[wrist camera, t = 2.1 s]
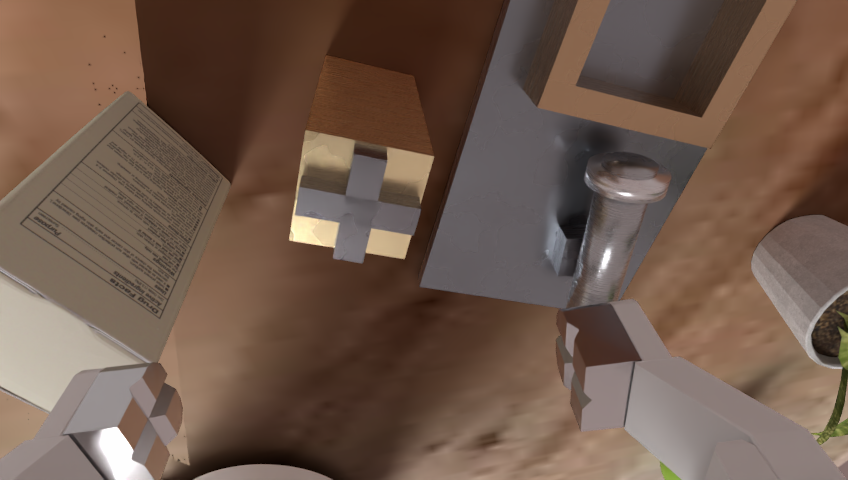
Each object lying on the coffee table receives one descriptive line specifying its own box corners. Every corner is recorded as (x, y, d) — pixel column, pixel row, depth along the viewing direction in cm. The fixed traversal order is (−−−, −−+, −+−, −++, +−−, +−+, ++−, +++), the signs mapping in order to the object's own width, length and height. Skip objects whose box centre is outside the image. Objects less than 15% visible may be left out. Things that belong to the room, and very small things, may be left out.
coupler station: (604, 305, 33) (627, 345, 30) (418, 276, 30) (423, 316, 27) (1041, -475, 16) (1186, -555, 14) (715, -677, 14) (807, -831, 11)
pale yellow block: (394, 155, 26) (405, 272, 18) (312, 138, 25) (285, 253, 17) (413, 75, 24) (436, 167, 16) (325, 54, 23) (302, 140, 15)
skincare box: (67, 141, 24) (-152, 318, 14) (130, 85, 23) (-58, 233, 13) (179, 234, 27) (66, 433, 17) (239, 188, 26) (157, 372, 16)
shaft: (602, 286, 31) (633, 338, 27) (542, 288, 30) (565, 340, 27) (644, 141, 26) (689, 180, 22) (573, 140, 25) (606, 180, 22)
